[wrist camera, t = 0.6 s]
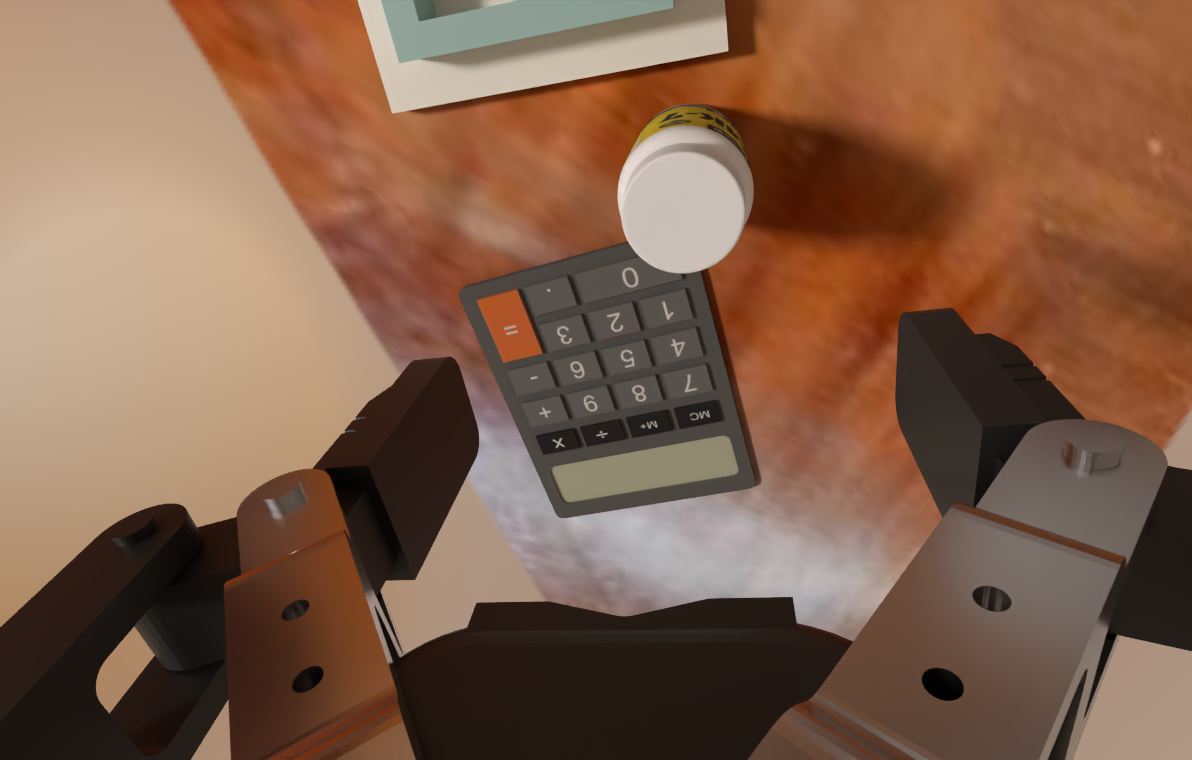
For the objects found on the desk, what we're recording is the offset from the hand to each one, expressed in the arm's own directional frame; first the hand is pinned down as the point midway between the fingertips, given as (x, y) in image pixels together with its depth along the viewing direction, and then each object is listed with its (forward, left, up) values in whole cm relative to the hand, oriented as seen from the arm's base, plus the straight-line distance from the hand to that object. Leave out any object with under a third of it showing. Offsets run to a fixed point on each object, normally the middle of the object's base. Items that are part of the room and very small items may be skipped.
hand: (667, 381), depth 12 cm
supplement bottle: (0, 0, -19) cm, 19 cm away
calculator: (+11, -5, -19) cm, 23 cm away
